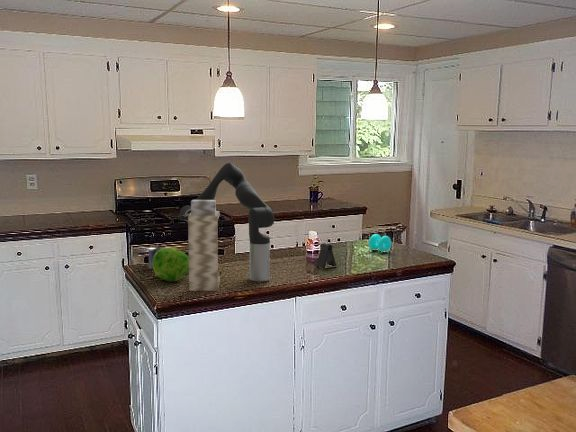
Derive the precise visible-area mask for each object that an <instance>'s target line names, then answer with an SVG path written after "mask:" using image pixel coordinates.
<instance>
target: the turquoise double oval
mask: <svg viewBox="0 0 576 432" xmlns="http://www.w3.org/2000/svg"><path fill="white" fill-rule="evenodd" d="M368 247H369V249H370V250H371V249H376V248H379V249H378V251H379V252H380V251H385V250H389V249H390V250H391V248H392V239H391V237H390V236H388V235H383V236H382V237H381V235H380V234H377V233H374V234H372V235H371V236H370V238H369V240H368ZM390 250H389V251H390Z"/></svg>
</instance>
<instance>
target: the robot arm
mask: <svg viewBox="0 0 576 432" xmlns="http://www.w3.org/2000/svg"><path fill="white" fill-rule="evenodd" d="M223 181H225V182H226V183H228V184H229V185H230V186H231V187H233V188H234V189H235V192H234V194H235V197H236V199H237V200H238V201H239V203H240V204H241V205H242V206H243V207H245V208H246V209H248V210H249V212H248V236H249V237H248V238H249V280H250V281H252V282H267V281H270V280H271V279H270V278H271V277H270V275H271V274H270V273H271V260H270V259H271V257H270V256H271V246H270V245H271V238H270V236H269V235H267V234H264V233H261V232H260V229H265V228H270V227H272V226H273V225H275V214H274V212H273V210H272V209H271V207H270V206H269V205H268V204H267V203H265V202H264V200H263V199H262V198H261V197H260V196H259V194H258V193H257V191H256V189H254V187H253V186H252V185H251V183H250V182H249V181H248V180H247V179H246V176H245V174H244V172H243V171H242V170H241V169H240V168H239V167H238V166H236V165H234V164H233V163H231V162H227V163H225V164H224V165H223V166H222V167H220V169H219V170H218V172H217V173H216V174H215V176H214V177H213V178H212V180H211V181H210V183H209V184H208V185H207V187H206V188H205V189H204V190H203V191H202V193H201V194H200V195H198V197H197V198H195V200H215V198H216V194H217V191H218V187H219V185H220V184H221V183H222V182H223ZM190 213H191V205H184V206H182V207H181V209H180V211H179V221H181V222H182V221H186V222H187V223H188V216H189V214H190Z"/></svg>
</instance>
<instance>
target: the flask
mask: <svg viewBox="0 0 576 432" xmlns="http://www.w3.org/2000/svg"><path fill="white" fill-rule="evenodd" d="M163 248H167V247H165V246H159V244H156V245H155V248H152V249H148V269H149V270H154V269H153V264H152V262H153V257H154V255H155V253H156V252H157V251H158V250H160V249H163Z"/></svg>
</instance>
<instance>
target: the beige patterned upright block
mask: <svg viewBox="0 0 576 432" xmlns="http://www.w3.org/2000/svg"><path fill="white" fill-rule="evenodd" d="M220 211H221V210H216V215H215V216H205V215H191V213H190V214H189V216H188V222H187V223H188V225H187V227H188V229H187V231H188V232H187V233H188V234H187V236H188V240H187V241H188V242H187V243H188V257H189V272H188V291H189V292H191V291H192V292H194V291H197V292H201V291H205V292H206V291H208V292H209V291H211V292H213V291H216V292H217V291H218V290H219V286H220V282H221V276H220V275H219V268H218V266H219V254H218V252H219V249H218V248H219V247H218V246H219V245H218V244H219V243H218V242H219V241H218V240H219V239H218V235H219V234H218V233H219V232H218V226H219V225H218V224H219V223H218V220H219V217H220V214H221V213H220Z"/></svg>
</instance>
